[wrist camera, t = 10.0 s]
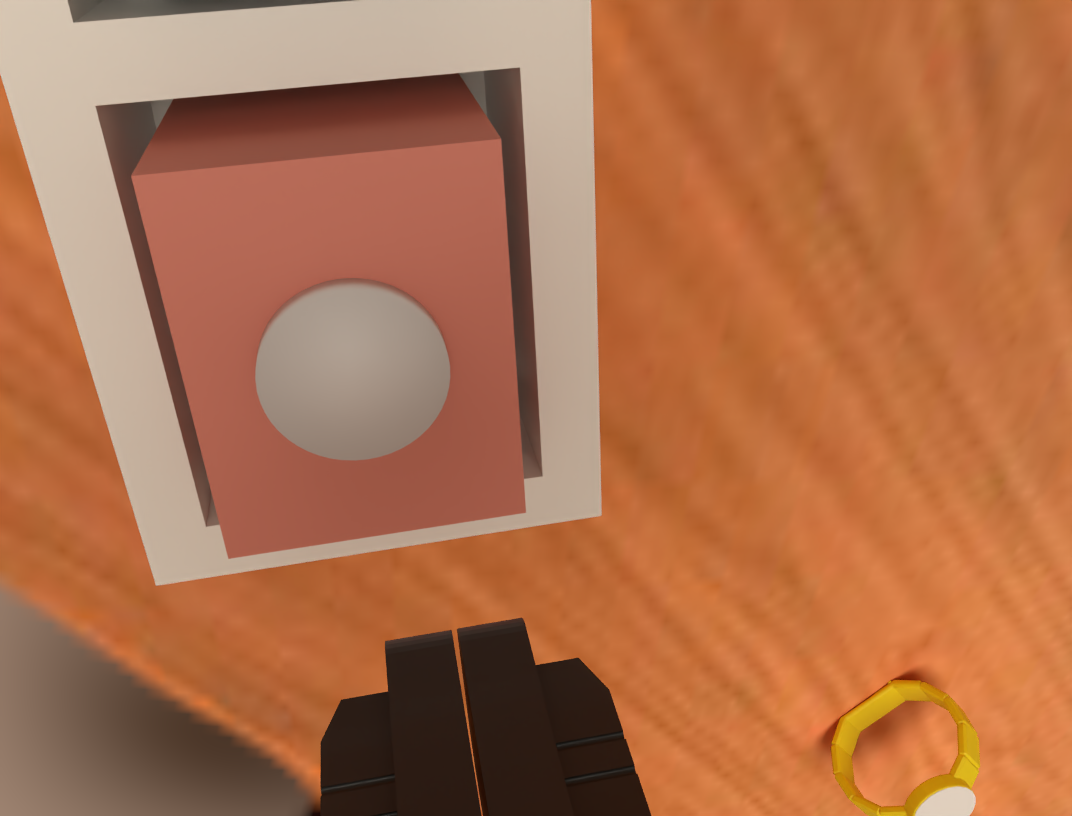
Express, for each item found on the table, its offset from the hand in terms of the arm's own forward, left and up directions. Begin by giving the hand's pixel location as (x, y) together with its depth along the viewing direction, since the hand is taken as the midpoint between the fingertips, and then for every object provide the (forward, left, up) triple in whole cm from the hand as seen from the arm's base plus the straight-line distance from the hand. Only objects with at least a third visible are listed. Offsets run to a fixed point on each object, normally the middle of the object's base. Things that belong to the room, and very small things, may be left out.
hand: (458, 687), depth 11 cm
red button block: (+1, +2, -18) cm, 19 cm away
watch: (-19, +26, -21) cm, 39 cm away
